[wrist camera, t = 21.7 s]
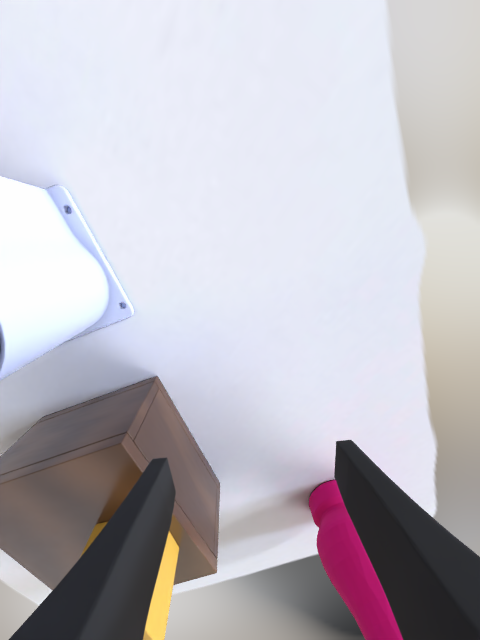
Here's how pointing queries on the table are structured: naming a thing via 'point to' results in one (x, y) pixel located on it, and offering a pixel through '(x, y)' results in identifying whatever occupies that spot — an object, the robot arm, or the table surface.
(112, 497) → the box lid
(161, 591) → the mustard block
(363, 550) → the pepper mill
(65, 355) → the table surface
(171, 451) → the box
